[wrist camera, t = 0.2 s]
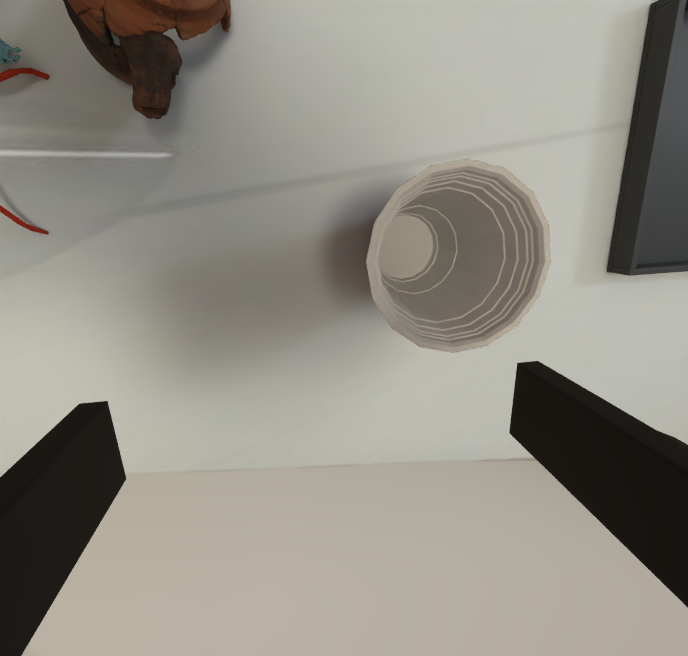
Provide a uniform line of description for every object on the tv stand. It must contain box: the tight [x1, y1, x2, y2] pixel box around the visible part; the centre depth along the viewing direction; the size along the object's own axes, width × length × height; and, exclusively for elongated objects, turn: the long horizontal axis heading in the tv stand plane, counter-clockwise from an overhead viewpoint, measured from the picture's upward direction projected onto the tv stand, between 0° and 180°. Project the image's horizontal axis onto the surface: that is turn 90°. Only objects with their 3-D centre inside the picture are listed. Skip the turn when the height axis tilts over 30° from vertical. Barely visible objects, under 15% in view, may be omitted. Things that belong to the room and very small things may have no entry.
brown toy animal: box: [63, 0, 231, 119], centre depth 23 cm, size 12×10×8 cm
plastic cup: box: [366, 159, 551, 353], centre depth 27 cm, size 11×11×12 cm
